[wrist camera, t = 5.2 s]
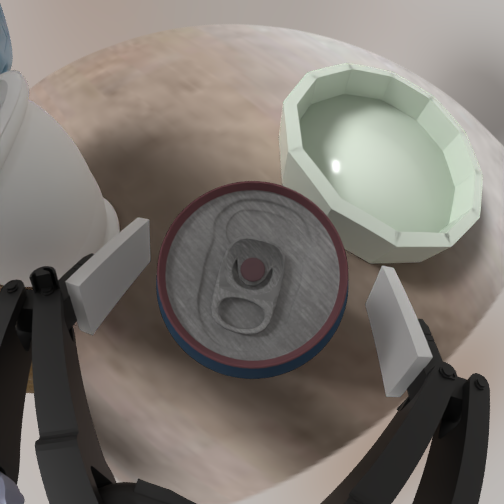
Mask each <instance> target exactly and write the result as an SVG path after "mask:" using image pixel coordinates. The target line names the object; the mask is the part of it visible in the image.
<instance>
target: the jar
mask: <svg viewBox="0 0 504 504" xmlns="http://www.w3.org/2000/svg"><path fill="white" fill-rule="evenodd" d="M119 232H120V227H119V221H118V217H117V214H116V212H115V210H114V208H113V206H112V205H111V204H110V203H109V202H108V201H107V200H106V199H105V198H103V196H102V193H101V191H100V188H99V186H98V184H97V182H96V180H95V178H94V177H93V175H92V173H91V172H90V170H89V168H88V165H87V163H86V162H85V160H84V158H83V156H82V154H81V152H80V151H79V149H78V148H77V146H76V144H75V143H74V141H73V140H72V139H71V137H70V136H69V135H68V133H67V132H66V131H65V130H64V129H63V127H62V126H61V125H60V124H59V123H58V122H57V121H56V120H55V119H54V118H53V117H52V116H51V115H50V114H49V113H47V112H46V111H45V110H44V109H43V108H42V107H40V106H39V105H37V104H36V103H34V102H33V101H31V100H29V86H28V83H27V80H26V79H25V77H24V76H23V75H22V74H21V73H20V72H19V71H16V70H11V71H7V72H5V73H2V74H0V285H5V284H6V283H8V282H9V281H11V280H16V279H17V280H21V281H22V282H23V283H24V286H25V287H32V284H31V281H30V278H29V277H30V274H31V273H32V272H33V271H34V270H36V269H37V268H40V267H43V266H50V267H53V268H54V269H55V270H56V274H57V278H58V280H59V279H60V278H61V277H62V276H63V275H64V274H65V273H66V272H67V271H68V270H70V269H72V267H73V266H74V265H75V264H77V262H78V261H79V260H81V259H82V258H83V257H85V256H87V255H89V254H91V253H93V254H95V253H96V252H98V251H99V250H100V249H101V248H102V247H103V246H104V245H105V244H107V243H108V242H109V241H110V240H111V239H112V238H114V237H115V236H116V235H117V234H118V233H119Z"/></svg>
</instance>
